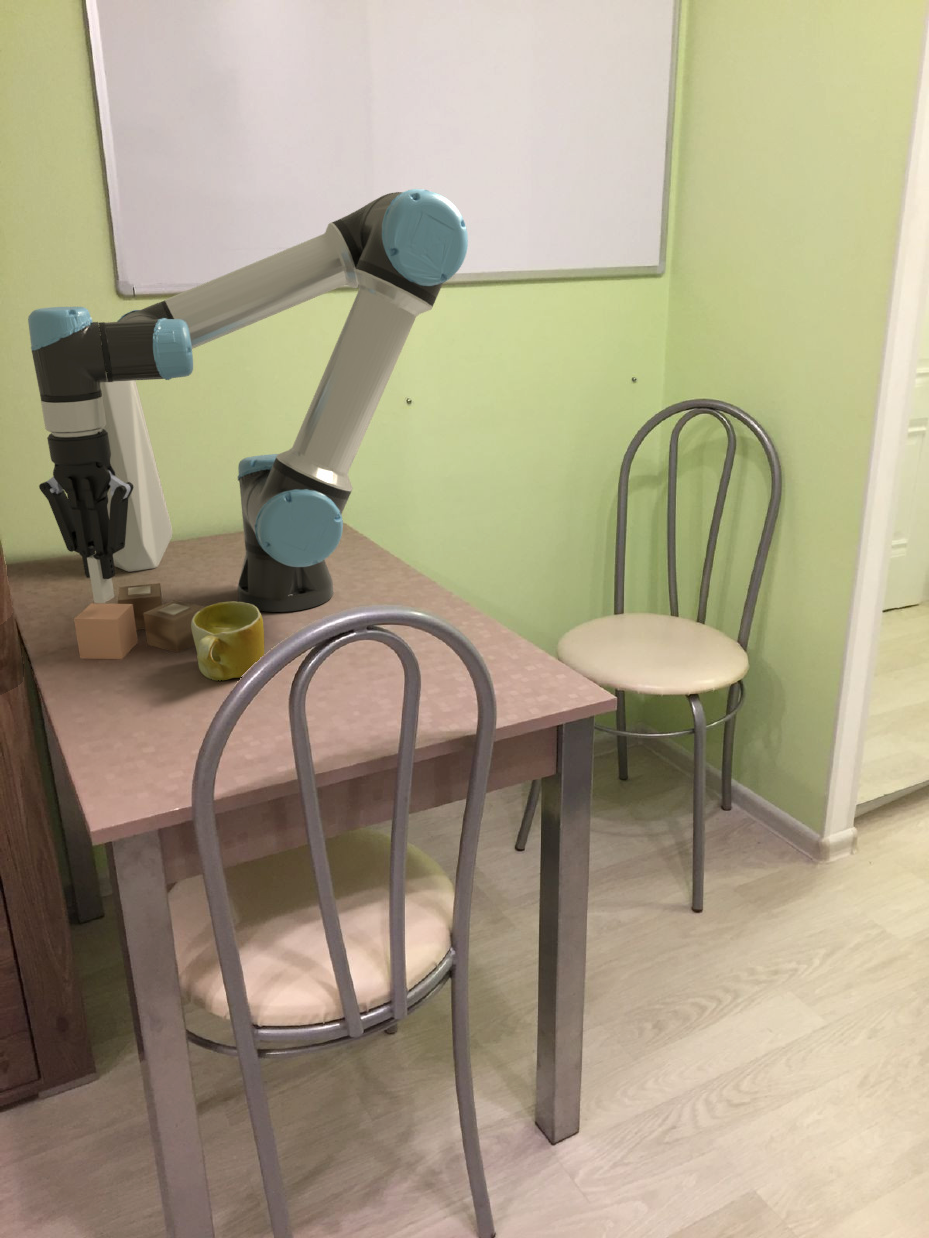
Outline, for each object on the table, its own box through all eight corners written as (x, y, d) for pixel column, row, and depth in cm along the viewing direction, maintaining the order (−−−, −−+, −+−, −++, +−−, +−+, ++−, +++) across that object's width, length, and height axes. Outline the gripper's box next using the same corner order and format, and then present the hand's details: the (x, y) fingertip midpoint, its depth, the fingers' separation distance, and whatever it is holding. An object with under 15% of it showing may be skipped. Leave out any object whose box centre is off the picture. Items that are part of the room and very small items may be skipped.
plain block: (137, 642, 146) (132, 603, 144) (122, 659, 141) (116, 619, 138) (97, 642, 147) (91, 603, 144) (80, 658, 141) (74, 618, 139)
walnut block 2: (208, 639, 147) (204, 605, 146) (178, 653, 143) (174, 619, 141) (177, 631, 150) (173, 598, 148) (147, 645, 145) (143, 611, 143)
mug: (216, 634, 144) (220, 579, 137) (277, 664, 141) (284, 610, 135) (161, 682, 134) (162, 626, 128) (225, 715, 132) (230, 659, 126)
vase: (185, 555, 184) (164, 371, 172) (159, 575, 174) (134, 381, 161) (122, 553, 186) (97, 370, 174) (92, 573, 175) (63, 380, 163)
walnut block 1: (163, 613, 157) (159, 582, 155) (164, 627, 152) (160, 594, 150) (123, 617, 156) (119, 585, 154) (122, 631, 150) (117, 598, 148)
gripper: (137, 426, 134) (160, 593, 143) (50, 424, 137) (78, 587, 146) (105, 438, 127) (132, 612, 136) (15, 435, 130) (47, 606, 139)
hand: (104, 599), depth 141 cm, fingers closed
